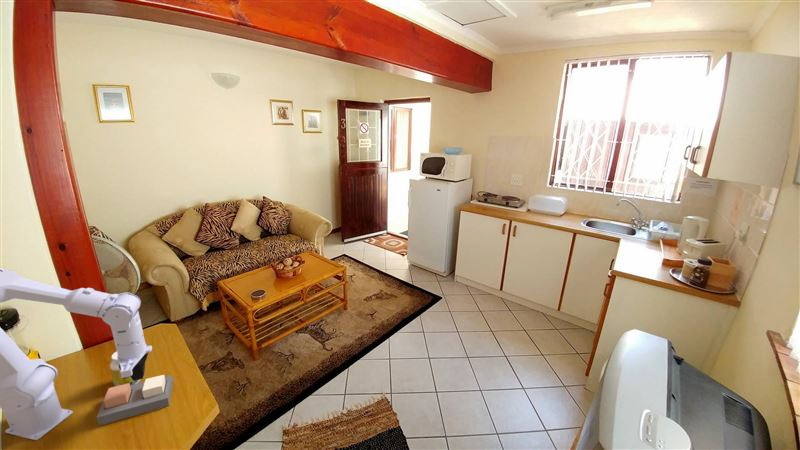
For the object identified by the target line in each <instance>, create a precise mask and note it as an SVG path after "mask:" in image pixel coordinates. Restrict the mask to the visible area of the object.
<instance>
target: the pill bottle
mask: <svg viewBox="0 0 800 450" xmlns="http://www.w3.org/2000/svg"><path fill="white" fill-rule="evenodd" d="M117 355H118V353H117V350H116V351H115V352H113V354H112V355H111V357H110V358H111V362H110V363H109V368H110V373H111V377H112V381H113V385H114V386H113V387H115V386H119V385H123V384H128V383H130V385H133V384H137V383H140V381H141V379H139V380H135V381H133V379H132V378H131V377H130V376H129V377H124V378H121V374H120V371H121V369H119V361H118V358H117Z"/></svg>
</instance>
